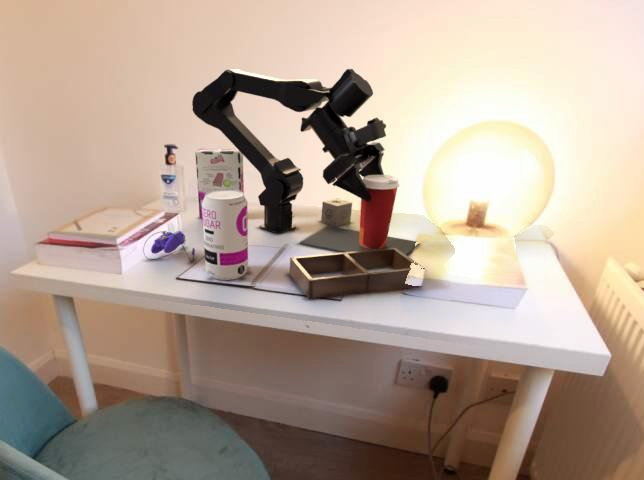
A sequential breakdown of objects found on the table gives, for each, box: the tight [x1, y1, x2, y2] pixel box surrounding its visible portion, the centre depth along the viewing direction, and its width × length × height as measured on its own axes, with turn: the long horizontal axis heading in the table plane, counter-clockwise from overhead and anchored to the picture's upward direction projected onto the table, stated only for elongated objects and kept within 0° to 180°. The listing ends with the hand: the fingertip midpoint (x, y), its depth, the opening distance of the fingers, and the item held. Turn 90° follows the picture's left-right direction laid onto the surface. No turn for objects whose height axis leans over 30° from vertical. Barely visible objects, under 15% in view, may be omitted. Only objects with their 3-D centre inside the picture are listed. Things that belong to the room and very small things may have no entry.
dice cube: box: [320, 197, 353, 227], centre depth 121 cm, size 5×5×5 cm
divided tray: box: [289, 248, 426, 300], centre depth 90 cm, size 11×21×4 cm, turn 102°
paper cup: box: [359, 174, 400, 249], centre depth 103 cm, size 8×8×14 cm
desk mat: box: [299, 225, 417, 256], centre depth 108 cm, size 22×14×1 cm, turn 55°
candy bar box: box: [195, 148, 245, 219], centre depth 124 cm, size 11×5×16 cm, turn 81°
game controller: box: [142, 230, 196, 263], centre depth 101 cm, size 10×8×10 cm
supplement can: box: [202, 190, 249, 281], centre depth 92 cm, size 8×8×15 cm
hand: (378, 195), depth 101 cm, fingers open, 9 cm apart
